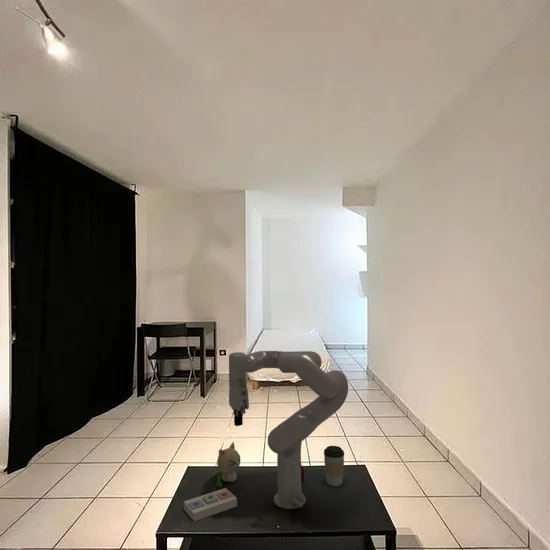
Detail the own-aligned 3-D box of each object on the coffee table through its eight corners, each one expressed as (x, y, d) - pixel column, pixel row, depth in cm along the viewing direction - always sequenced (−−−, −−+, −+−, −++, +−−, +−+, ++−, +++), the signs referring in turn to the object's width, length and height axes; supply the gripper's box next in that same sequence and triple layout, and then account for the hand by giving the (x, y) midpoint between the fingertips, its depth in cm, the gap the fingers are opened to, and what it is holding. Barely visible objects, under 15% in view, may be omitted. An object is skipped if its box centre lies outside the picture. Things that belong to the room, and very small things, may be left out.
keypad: (237, 506, 157) (237, 498, 157) (193, 521, 147) (193, 513, 147) (225, 495, 166) (225, 488, 166) (183, 509, 156) (183, 501, 156)
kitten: (226, 490, 170) (226, 454, 170) (208, 484, 175) (208, 450, 175) (247, 476, 182) (246, 442, 183) (229, 471, 188) (229, 438, 188)
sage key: (218, 504, 156) (218, 497, 156) (207, 508, 153) (207, 501, 153) (213, 499, 160) (213, 492, 160) (202, 502, 157) (202, 496, 157)
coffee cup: (332, 475, 182) (331, 442, 182) (349, 482, 175) (348, 447, 176) (320, 482, 175) (319, 447, 176) (337, 489, 169) (336, 453, 169)
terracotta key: (232, 501, 159) (232, 495, 159) (221, 505, 157) (221, 498, 157) (227, 496, 163) (226, 490, 163) (216, 500, 160) (216, 493, 160)
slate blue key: (204, 511, 152) (204, 504, 153) (192, 515, 150) (192, 508, 150) (199, 506, 156) (199, 499, 156) (188, 509, 154) (188, 503, 154)
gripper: (254, 383, 168) (254, 428, 167) (237, 377, 180) (237, 418, 179) (238, 386, 164) (239, 432, 163) (222, 379, 176) (222, 422, 175)
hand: (238, 425), depth 171 cm, fingers closed
